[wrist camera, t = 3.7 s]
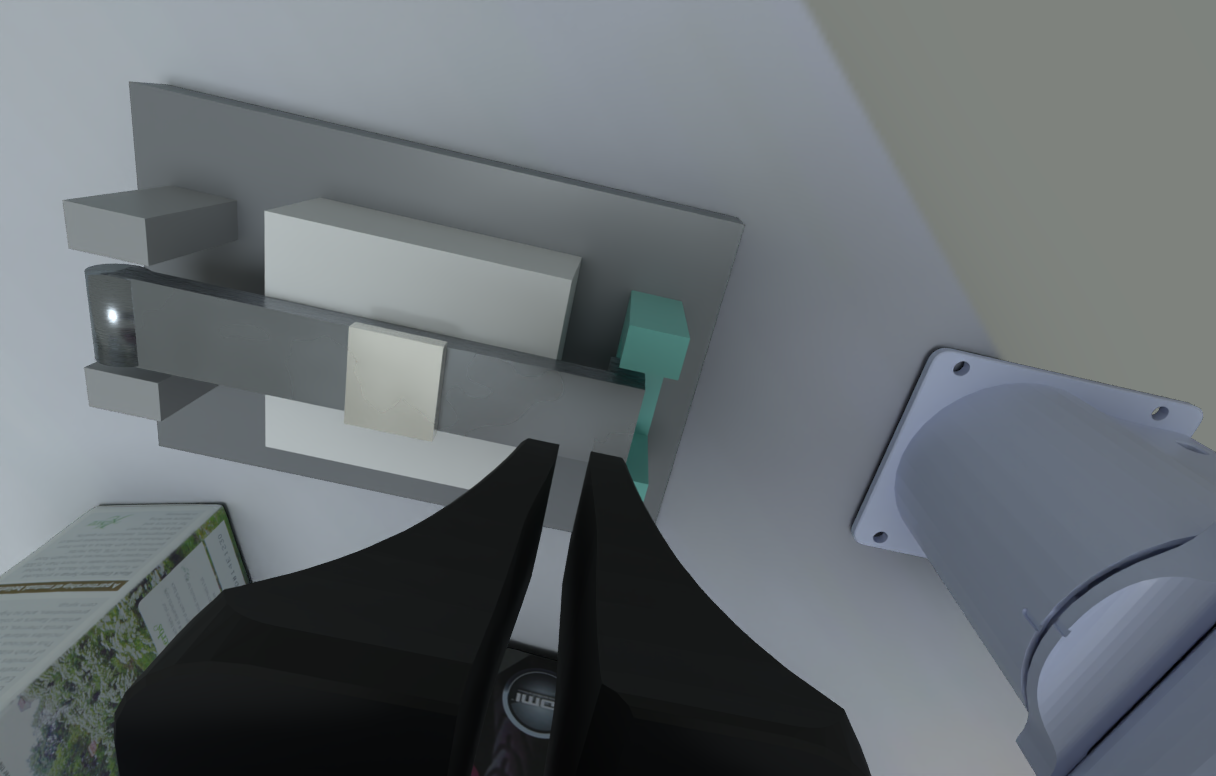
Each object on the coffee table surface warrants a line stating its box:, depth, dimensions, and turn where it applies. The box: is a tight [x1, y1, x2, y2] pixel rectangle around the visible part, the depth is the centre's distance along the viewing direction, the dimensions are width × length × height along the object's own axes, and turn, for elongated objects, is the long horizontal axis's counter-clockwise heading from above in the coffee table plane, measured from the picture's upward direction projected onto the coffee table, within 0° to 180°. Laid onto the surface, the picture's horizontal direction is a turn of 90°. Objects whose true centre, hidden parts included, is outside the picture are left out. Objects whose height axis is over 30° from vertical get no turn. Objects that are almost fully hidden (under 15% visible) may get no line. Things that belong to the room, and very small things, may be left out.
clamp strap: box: [85, 264, 645, 463], centre depth 17 cm, size 15×3×2 cm, turn 78°
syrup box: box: [0, 504, 250, 776], centre depth 20 cm, size 6×6×14 cm
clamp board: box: [62, 82, 745, 532], centre depth 19 cm, size 18×12×5 cm, turn 78°
